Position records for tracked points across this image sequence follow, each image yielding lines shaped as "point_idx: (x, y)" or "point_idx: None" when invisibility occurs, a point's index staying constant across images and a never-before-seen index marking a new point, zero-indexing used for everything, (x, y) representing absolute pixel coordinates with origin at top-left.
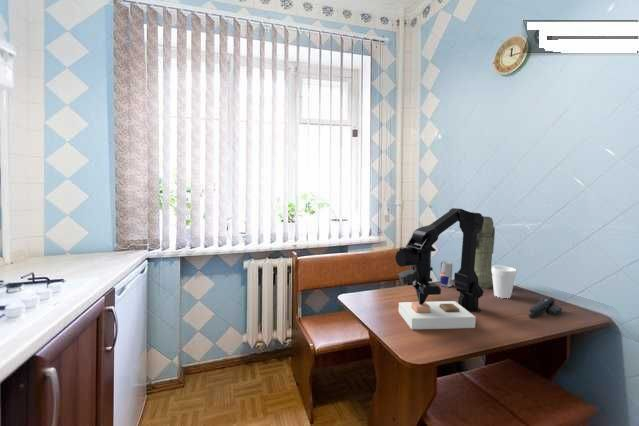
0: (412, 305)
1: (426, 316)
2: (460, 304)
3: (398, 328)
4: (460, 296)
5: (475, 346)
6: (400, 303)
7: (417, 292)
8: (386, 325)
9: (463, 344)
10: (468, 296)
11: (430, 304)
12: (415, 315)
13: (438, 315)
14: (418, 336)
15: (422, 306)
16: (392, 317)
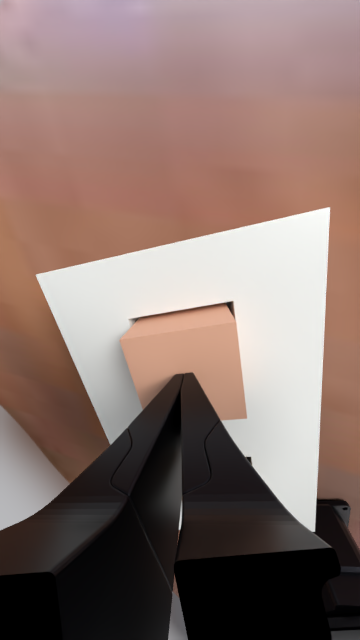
0: (213, 315)
1: (95, 365)
2: (318, 520)
3: (71, 198)
4: (356, 573)
5: (41, 439)
6: (301, 221)
7: (183, 463)
8: (84, 115)
9: (39, 416)
10: (324, 606)
11: (273, 427)
12: (89, 306)
13: (125, 422)
14: (31, 288)
15: (140, 381)
16: (202, 169)
